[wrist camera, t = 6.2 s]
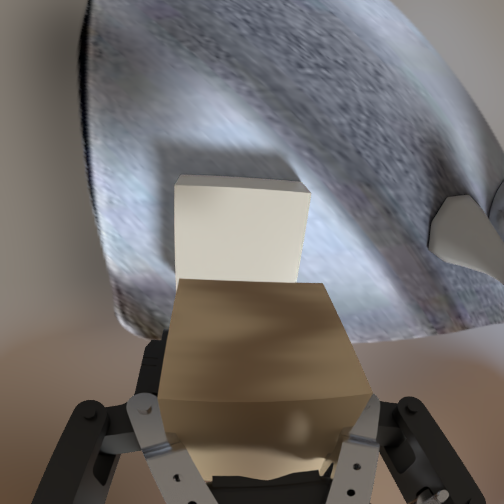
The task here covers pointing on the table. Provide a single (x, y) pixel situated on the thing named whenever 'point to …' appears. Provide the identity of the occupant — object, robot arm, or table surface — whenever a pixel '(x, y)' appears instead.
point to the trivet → (239, 228)
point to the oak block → (258, 377)
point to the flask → (467, 237)
